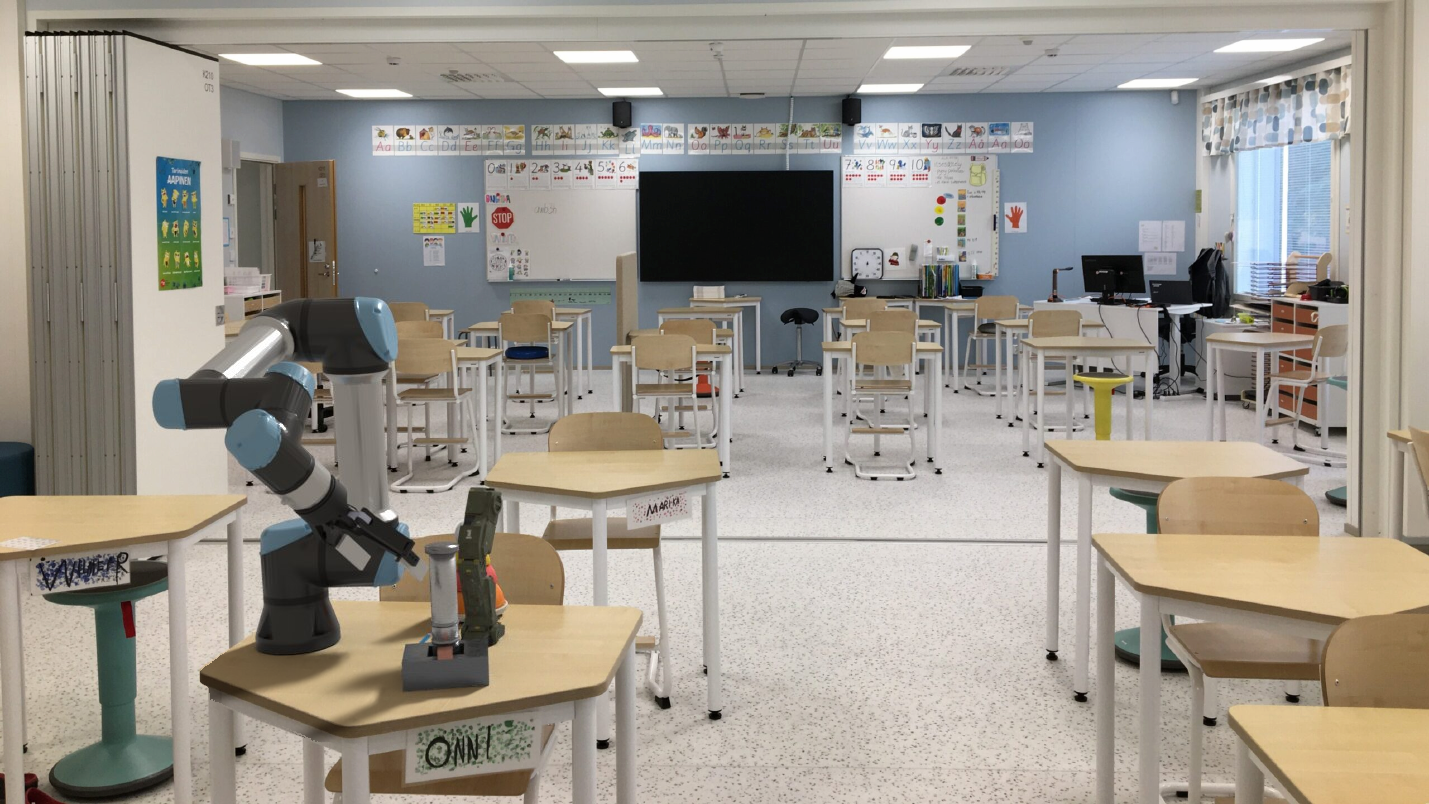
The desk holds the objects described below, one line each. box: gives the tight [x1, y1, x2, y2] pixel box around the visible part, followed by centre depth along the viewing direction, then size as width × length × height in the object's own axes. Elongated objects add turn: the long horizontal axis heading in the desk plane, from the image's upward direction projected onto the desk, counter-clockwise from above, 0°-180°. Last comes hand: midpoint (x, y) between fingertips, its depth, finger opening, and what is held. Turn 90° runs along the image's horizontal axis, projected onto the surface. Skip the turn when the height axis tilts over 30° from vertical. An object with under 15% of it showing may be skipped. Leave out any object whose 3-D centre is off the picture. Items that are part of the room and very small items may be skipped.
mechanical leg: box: [456, 486, 506, 648], centre depth 217 cm, size 14×7×30 cm, turn 168°
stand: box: [401, 638, 490, 693], centre depth 197 cm, size 10×14×6 cm
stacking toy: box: [454, 520, 509, 623], centre depth 233 cm, size 14×14×20 cm
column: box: [424, 541, 461, 656], centre depth 196 cm, size 6×6×23 cm
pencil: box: [418, 631, 432, 643], centre depth 213 cm, size 1×17×1 cm, turn 176°
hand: (394, 568), depth 186 cm, fingers open, 13 cm apart
